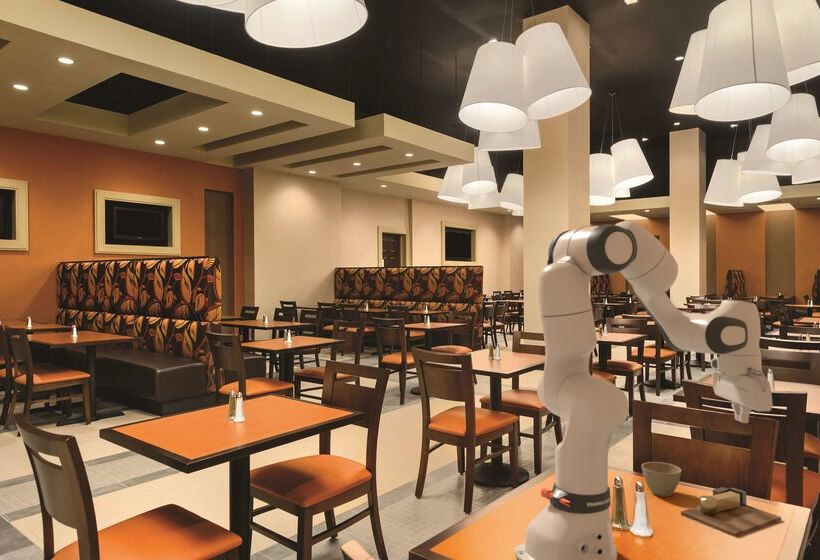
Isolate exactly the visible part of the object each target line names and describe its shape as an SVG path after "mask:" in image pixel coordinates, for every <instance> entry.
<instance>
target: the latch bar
mask: <svg viewBox="0 0 820 560" xmlns="http://www.w3.org/2000/svg"><path fill="white" fill-rule="evenodd" d="M699 506H700V511H701V512H703V513H705V514H710V515H714V514H716V513H717V512H720V511H724V510H728V509H732V508H735V507H739V506H740V494H737V493H734V492H732V491H729V492H725V493H721V494H717V495H713V494H712V495H700V496H699Z"/></svg>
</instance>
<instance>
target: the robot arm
mask: <svg viewBox="0 0 820 560" xmlns="http://www.w3.org/2000/svg"><path fill="white" fill-rule="evenodd" d="M547 257H548V258H547V261H546V262H547V263H546V264H547V265H546V266H544V268H543V269H542V270H541V271H540V272H539V276H538V303H539V304H538V305H539V306H538V307H539V314H540V319H541V320H540V321H541V326H542V333H543V339H544V348H545V349H544V351H545V353H544V354H545V357H544V368H543V373H542V375H541V377H540V379H539V380H538V382H537V388H536V391H537V392H536V393H537V398H538V400H539V401H540V403H541V404H542V405H543V406H544V407H545V408H546V409H547V410H548V411H549V412H550V413H552V414H553V415H556V416H557V417H560V418H562V419H564V420H565V422H566V423H565V432H564V435H563V439H562V441H561V442H559V444H557V446H556V447H555V451H554V461H555V462H554V469H555V470H554V472H555V481H554V483H553V487H552V489H548V488H547V487H542V488H541V490H540V492H539V493H540V496H541V497H543V498H546V500H549V502H548V503H547V504H546V506H545V507H543V509H542V510H541V511H540V512H539V513H538V514H537V516H535V517H534V518H533V519H532V521H530V522H529V523H528V525H527V526H526V527H527V528H526V531H525V538H524V542H523V543H521V544H519V545H517V546H515V547H514V550H513V551H515V553H514V555H516V556H517V557H516V556H515V557H516V559H517V558H518V559H519V560H618V559H617V558H618V550H617V548H616V544H615V539H614V534H613V527H612V522H611V515H610V507H611V499H612V497H611V489H610V487H609V485H608V484H609V483H608V482H609V479H608V477H609V473H608V469H609V468H608V467H609V466H608V465H609V464H608V463H609V461H608V459H609V452H610V451H609V450H610V446H611V441H612V439H613V436H614V434H615V432H616V431H617V430H618V429H619V428H620V427H622V426H623V425H624V423H625V422H626V420H627V418H628V415H629V409H630V408H629V407H630V405H629V404H630V403H629V400H628V397H627V395H626V394H625V392H624V391H623V390H622V389H621V388H619V387H618V386H617V385H615V384H614V383H612V382H611V381H609V380H607V379H605V378H602V377H599V376H594V375H591V374H590V367H589V365H590V357H591V354H592V352H593V351H594V350H595V348H596V347H597V344H598V337H597V333H596V332H597V330H596V325H595V319H594V312H593V307H592V301H591V295H590V293H589V292H590V291H589V289H590V288H589V287H590V283H591V282H590V281H591V279H592V277H594V276H602V275H612V274H616V273H620V274H621V275H622V276H623V277H624V279H625V280H627V281H628V283H629V284H630V285H631V289H632V292H633V294H634V295H635V297H636V298H637V301H639V304H641V306H642V307H643V308H644V310H645V311H646V312H647V314H649V316H650V317H651V318H652V320H653V321H654V323H655V324H656V325H657V327H658V329H659V331H660V334H661V336H662V338H663V341H664V343H665V344H666V346H668V347H669V348H670V349H672V350H673V351H675V352H690V353H691V352H692V353H693V352H694V353H701V354H709V355H719V356H717V357H715V358H712V359H711V360H710V367H711V368H712V369H713V370H712V388H713V392H714V394H715V396H717V397H719V398H723V399H725V400H728V401H730V402H731V407H732V410H733V414H734V420H735V421H738V422H740V423H741V424H748V423H749V422H750V421H749V420H750V419H749V417H750V414H751V412H752V411H756V412H770V411H772V408H773V396H772V388H771V384H770V383H771V382H770V381H769V380H768V378H767V376H765V374H764V372H763V370H762V351H761V348H760V340H761V336H762V334H761V332H762V331H761V318H760V313H759V310H758V307H757V304H755V303H754V302H752V301H749V300H746V299H745V300H743V299H742V300H740V299H728V298H727V299H723V300H722V301H721V303H720V305H719V306H718V307H717V308H716V309H713V310H712V311H710V312H708V313H696V312H695V313H692V312H688V311H684V310H680V309H679V308H677V306H676V305H675V304H674V303H673V301H672V300H671V298H669V296H668V295H667V293H666V292H668V290H670V288H671V287H672V286H673V285H674V284H675V282H676V280H677V278H678V274H679V264H678V262H677V261H676V259H675V258H674V255H673V254H672V253H671V252H670V251H669V250H668V249H667V248H666V247H665V246H664V244H662V242H660V240H659V239H658V238H657V237H655V236H654V234H652V233H651V232H650V231H649V230H647V229H646V228H645V227H644V226H642V225H641V224H639V223H637V222H635V221H632V220H624V221H620V222H617V223H616V224H611V223H610V224H606V223H605V224H601V225H593V226H592V225H591V226H590V225H585V226H584V225H583V226H581V227H577V228H573V229H568V230H565V231H563V232H561V233H560V234H558V235H556V236H555V237H554V238H553V239H552V241H551V242H550V245H549V247H548V255H547ZM518 559H517V560H518Z"/></svg>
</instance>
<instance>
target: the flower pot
mask: <svg viewBox="0 0 820 560" xmlns="http://www.w3.org/2000/svg"><path fill="white" fill-rule="evenodd" d="M641 470H642V475H643V477H644V481H645V482H646V485H647V487H648V489H649V490H650V492H651V493H652V494H653V495H655V496H659V497H671V496H672V495H673V493H674V492H675V491H676V489H677V487H678V485H679V482H680V479H681V475H682V469H681V467H679V466H678V465H674V464H671V463H667V462H659V461H657V462H656V461H648V462H645V463H642V464H641Z"/></svg>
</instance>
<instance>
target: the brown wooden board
mask: <svg viewBox="0 0 820 560" xmlns="http://www.w3.org/2000/svg"><path fill="white" fill-rule="evenodd" d="M680 516H683V517H686V518H688V519H691V520H693V521H696V522H698V523H700V524H703V525H704V526H707V527H710V528H713V529H715V530H718V531H720V532H723V533H725V534H728V535H730V536H731V537H739V536H741V535H745V534H747V533H750V532H753V531H756V530H758V529H760V528H765V527H767V526H769V525H772V524H775V523H778V522H780V521H779V520H781V521H782V517H781V516H779V515H776V514H773V513H770V512H769V511H765V510H762V509H759V508H756V507H753V506H751V505H748V504H746V505H745V506H741V505H740V506H739V507H735V508H732V509H728V510H724V511H720V512H717V513H716V514H714V515H710V514H705V513H703V512H701V511H700V505H698V506H695V507H691V508H689V509H685V510H681V511H680ZM777 521H778V522H777Z"/></svg>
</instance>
